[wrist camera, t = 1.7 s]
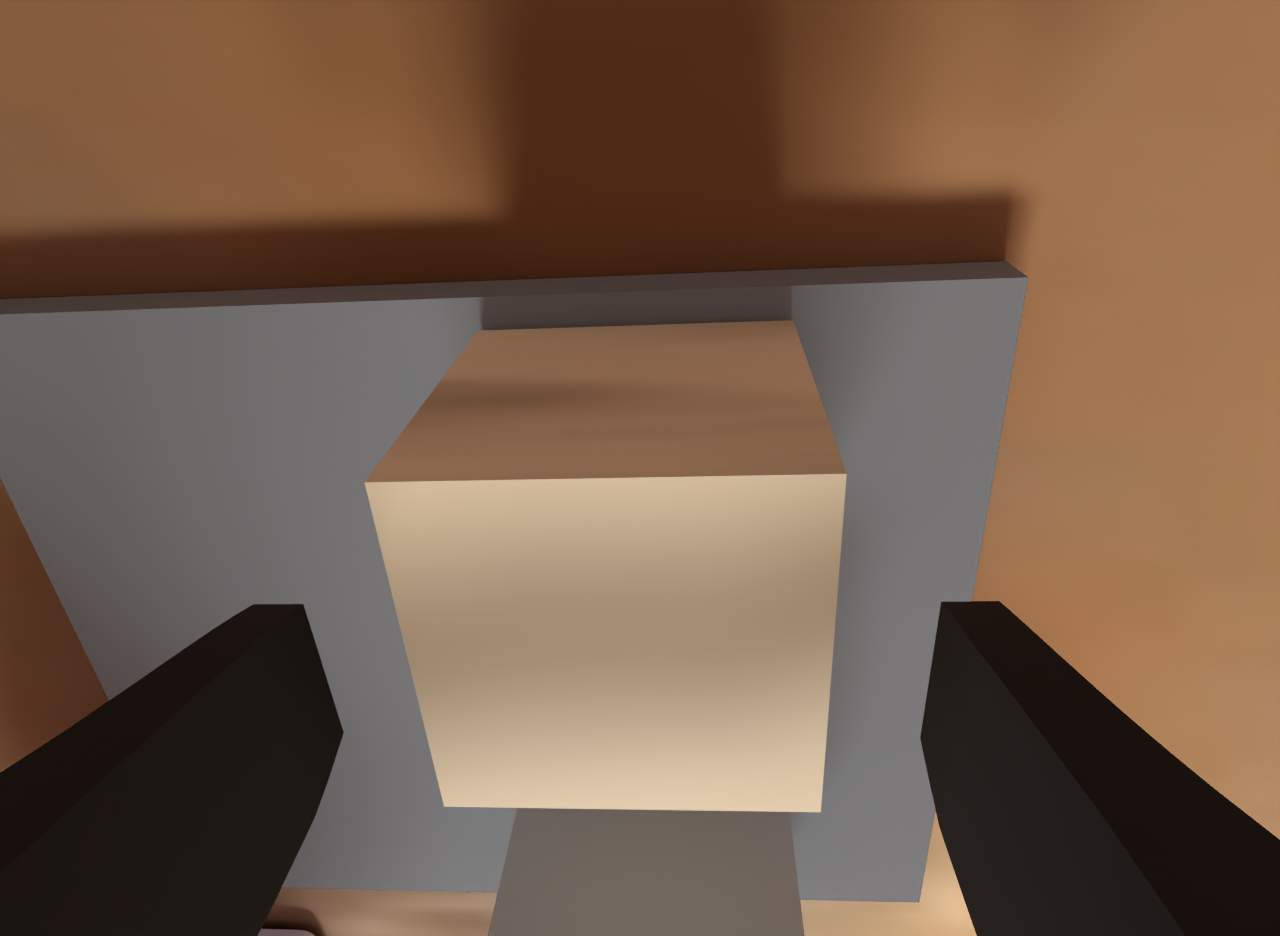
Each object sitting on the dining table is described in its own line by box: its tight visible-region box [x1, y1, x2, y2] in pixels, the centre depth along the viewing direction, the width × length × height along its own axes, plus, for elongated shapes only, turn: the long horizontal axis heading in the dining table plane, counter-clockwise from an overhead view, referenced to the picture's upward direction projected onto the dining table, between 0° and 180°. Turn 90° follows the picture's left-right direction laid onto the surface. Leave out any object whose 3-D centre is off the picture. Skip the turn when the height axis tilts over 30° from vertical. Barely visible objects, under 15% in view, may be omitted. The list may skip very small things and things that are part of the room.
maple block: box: [365, 320, 847, 812], centre depth 12 cm, size 5×5×5 cm
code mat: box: [0, 261, 1028, 902], centre depth 17 cm, size 15×18×1 cm
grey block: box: [488, 808, 804, 936], centre depth 16 cm, size 5×5×5 cm
